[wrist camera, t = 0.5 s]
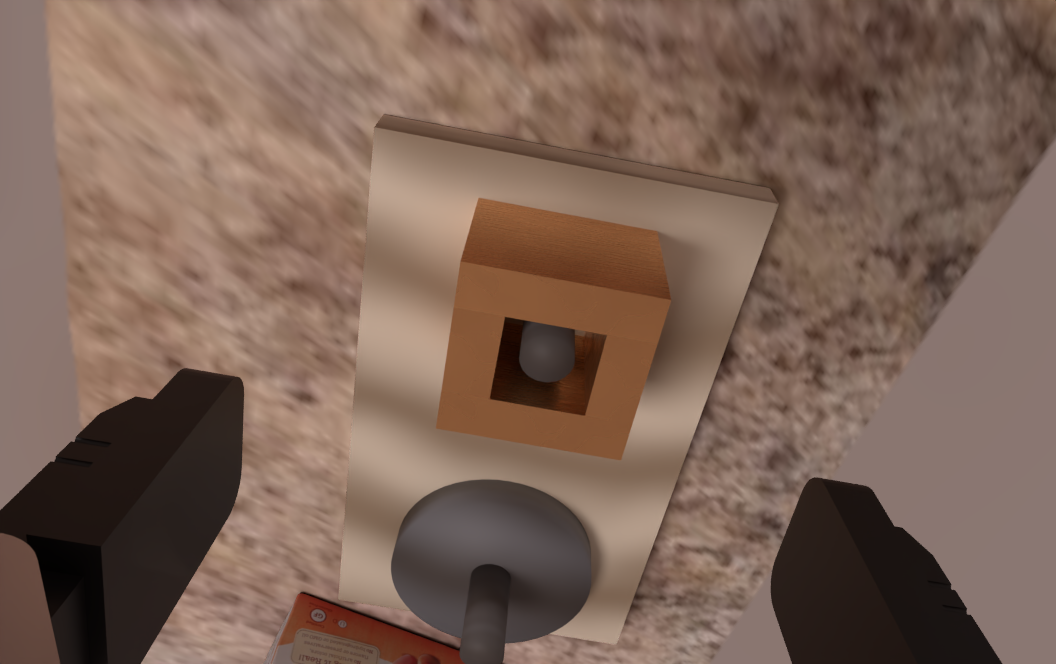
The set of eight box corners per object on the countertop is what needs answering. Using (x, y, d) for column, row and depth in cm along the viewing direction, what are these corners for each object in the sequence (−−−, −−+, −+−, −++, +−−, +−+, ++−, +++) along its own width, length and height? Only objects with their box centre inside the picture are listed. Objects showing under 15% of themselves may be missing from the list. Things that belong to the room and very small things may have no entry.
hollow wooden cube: (478, 197, 28) (460, 261, 24) (657, 231, 28) (671, 300, 24) (455, 348, 31) (435, 428, 27) (615, 377, 31) (620, 460, 27)
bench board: (383, 114, 28) (330, 187, 22) (769, 188, 29) (820, 278, 23) (345, 575, 40) (305, 701, 35) (615, 619, 41) (621, 751, 35)
